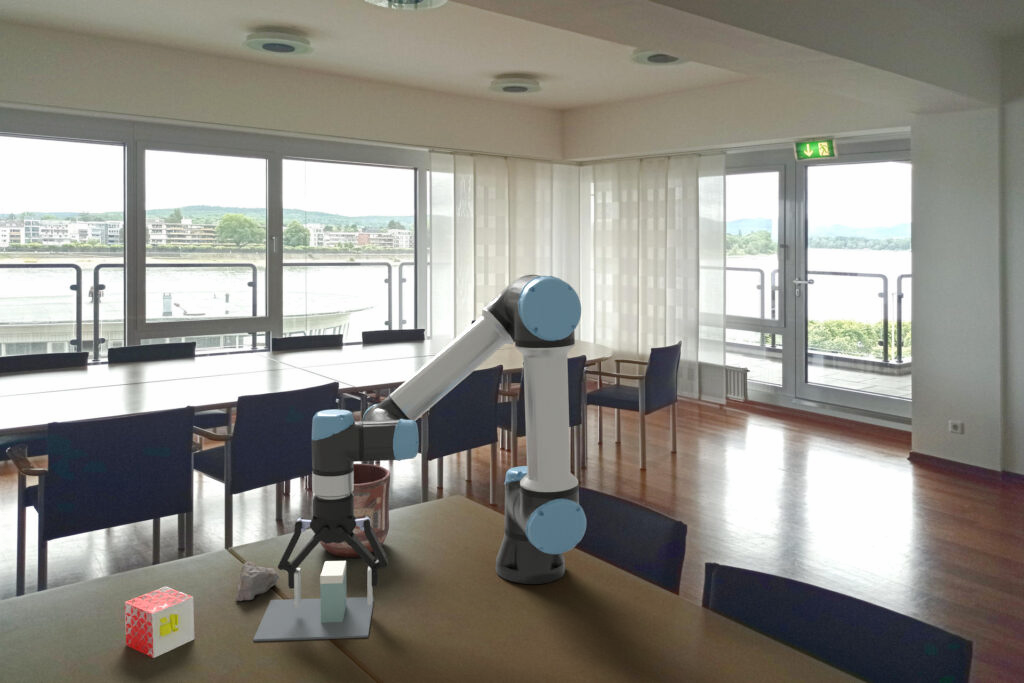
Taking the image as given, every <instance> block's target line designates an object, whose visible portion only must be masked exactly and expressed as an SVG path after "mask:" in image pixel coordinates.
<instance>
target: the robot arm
mask: <svg viewBox="0 0 1024 683" xmlns="http://www.w3.org/2000/svg"><path fill="white" fill-rule="evenodd" d="M481 312H482V313H481V316H480V317H479V318H478V319H477V320H475V321H474V322H473V323H472V324H471V325H469V326H468V327H467V328H466V329H464V331H463V332H461V333H460V334H459V335H458V336H457V337H456V338H454V339H453V340H452V341H451V342H450V343H449V344H448V345H446V346H445V347H444V348H443V349H441V350H440V351H439V352H438V353H437V354H435V356H433V357H432V358H431V359H430V360H429V361H428V362H426V363H425V364H424V365H423V366H422V367H420V369H418V370H417V371H416V372H414V374H412V375H411V376H409V378H407V379H406V380H405V381H404V382H403V383H401V385H399V386H398V387H397V388H396V389H395V390H394V391H392V392H391V393H390V394H389V395H388V396H387V397H386V398H384V399H383V400H382V401H380V403H375V404H373V405H371V406H369V407H368V408H367V409H366V410H365V412H364V414H363V417H362V420H359V421H358V420H355V418H354V414H353V412H352V411H350V410H347V409H339V408H337V409H324V410H320V411H317V412H315V414H314V416H313V417H312V419H311V420H312V422H311V425H312V426H311V461H312V462H311V463H312V465H311V466H312V467H311V469H312V471H311V473H312V474H311V475H312V476H311V477H312V478H311V481H312V482H311V485H312V486H311V487H312V488H311V489H312V493H313V496H312V517H311V518H312V519H304V518H303V517H301V516H300V517H298V518H297V519H296V521H295V524H294V530H293V533H292V534H293V535H292V537H291V539H290V540H289V543H288V544H287V546H286V548H285V551H284V553H283V554H282V556H281V559H280V561H279V563H278V565H277V568H278V570H280V571H286V573H287V574H288V576H287V577H288V585H287V586H288V588H289V589H294V592H293V594H294V596H293V597H294V598H293V599H294V606H295V607H299V605H300V602H301V599H302V595H301V594H302V592H301V591H302V588H301V587H302V584H301V583H302V580H301V575H302V573H301V569H302V568H301V567H299V566H300V565H301V564H302V563H303V562H304V560H305V559H306V558H308V556H309V555H310V553H311V552H312V551H313V550H314V549H315V547H317V546H318V544H319V543H320V541H322V542H324V543H325V544H329V543H332V542H334V543H342V542H344V541H346V543H347V544H348V545H349V546H351V547H352V548H353V549H354V550H355V551H356V553H357V554H358V555H359V556H360V557H359V558H361V559H362V560H363V562H364V563H365V564H366V565H367V573H366V574H367V578H366V579H367V582H366V583H367V584H366V585H367V586H366V587H367V588H366V589H367V591H366V592H367V593H366V594H367V595H366V597H367V605H372V597H373V587H377V586H378V584H379V570H380V569H382V568H386V567H387V566H388V562H389V559H388V556H387V554H386V552H385V550H384V548H383V546H382V545H381V544H380V542H379V540H378V538H377V536H376V534H375V532H374V530H373V528H372V525H371V518H370V516H366V517H365V518H362V519H356V518H355V517H354V495H353V494H352V491H353V490H354V466H353V464H355V462H360V463H361V462H383V461H384V462H385V461H398V462H401V461H405V460H412V459H415V458H416V457H417V456H418V453H419V445H420V442H419V441H420V440H419V439H420V438H419V428H418V424H417V422H416V421H417V420H418V419H419V418H421V416H422V415H424V414H425V413H426V412H428V410H430V409H431V408H432V407H434V405H436V404H437V403H438V402H439V401H440V400H441V399H443V398H444V397H445V396H447V394H448V393H450V392H451V391H452V390H453V389H454V388H455V387H456V386H458V385H459V384H460V383H461V382H462V381H464V380H465V379H467V377H468V376H470V375H471V374H472V373H473V372H474V371H475V370H477V368H479V367H480V366H481V365H483V363H484V362H486V361H487V360H488V359H489V358H490V357H491V356H493V355H494V354H495V353H496V352H498V350H500V349H501V348H502V347H503V346H505V345H506V344H507V345H513V344H514V346H515V347H514V348H516V349H517V350H518V351H519V352H520V353H521V354H522V356H523V361H522V362H523V384H524V385H523V386H524V413H525V419H524V420H525V443H526V444H525V445H526V446H525V447H526V465H524V466H523V465H522V466H515V467H511V468H509V469H508V470H507V471H506V473H505V478H504V479H505V480H504V531H503V532H504V535H503V538H502V541H501V544H500V546H499V550H498V553H497V556H496V559H495V572H496V574H497V576H500V578H502V579H503V580H504V579H505V580H507V581H509V582H513V583H517V584H524V585H525V584H526V585H543V584H548V583H552V582H555V581H557V580H559V579H562V578H563V577H564V575H565V572H566V560H565V557H564V553H567V552H568V551H571V550H572V549H574V548H576V546H577V545H578V544H579V543H580V542H581V541H582V539H583V537H584V536H585V533H586V530H587V516H586V514H585V511H584V509H583V507H582V506H581V505H580V496H579V493H580V492H579V491H580V490H579V479H578V478H577V477H576V476H575V475H574V474H573V473H572V472H571V448H570V443H571V442H570V439H571V438H570V413H569V412H570V409H569V408H570V406H569V405H570V404H569V403H570V402H569V401H570V400H569V372H568V354H569V352H570V351H571V350H572V349H573V348H574V347H575V346H576V342H575V341H576V339H575V330H576V328H577V327H578V325H579V323H580V321H581V318H582V316H581V315H582V304H581V300H580V297H579V295H578V293H577V291H576V290H575V288H573V287H572V286H571V285H570V284H569V283H568V282H566V281H564V280H562V279H561V278H559V277H556V276H553V275H537V274H527V275H524V276H523V275H522V276H521V277H518V278H517V279H515V280H514V281H512V282H511V283H510V284H508V285H507V286H506V287H505V288H504V289H503V290H502V291H501V292H500V293H498V294H497V295H496V296H495V297H494V298H493V299H492V300H491V301H490V302H489V303H488V304H487V305H485V307H483V308H482V311H481ZM356 526H359V527H360V529H361V530H363V531H364V532H365V535H366V537H367V539H368V541H369V543H370V545H371V547H372V549H373V551H374V552H373V553H374V555H375V556H376V557H375V556H374V555H373V553H370V552H369V550H368V549H367V548H366V547H365V546H364V545H363V544H362V543H361V541H360V540H359V539H358V538H357V537H356V535H355V534H354V532H353V530H354V528H355V527H356ZM307 528H310V529H311V530H312V532H313V533H314V534H313V536H312V537H311V538H310V540H309V541H308V542H307V543H306V544H305V545H304V546H303V548H302V549H301V550H300V552H299V553H298V554H297V555H296V556H295V557H294V558H293V560H291V561H289V559H290V558H291V555H292V553H293V551H294V549H295V547H296V546H297V543H298V541H299V539H300V537H301V535H302V533H303V532H306V530H307Z"/></svg>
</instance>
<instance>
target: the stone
mask: <svg viewBox="0 0 1024 683" xmlns="http://www.w3.org/2000/svg"><path fill="white" fill-rule="evenodd" d="M240 572H241V573H240V576H239V579H238V585H237V586H238V587H237V595H236V596H235V599H236V600H237V601H238V602H242V601H251V600H253V599H254V598H255V596H257V595H262V594H265V593H267V592H268V591H269V590H270V588H272V587H274V586H275V585H277V582H278V580H279V578H280V576H279V575H278V572H277V571H276V570H275V568H273V567H264V566H258V565H257V564H255V563H254V562H253V561H245V563H243V564H242V567H241V571H240Z"/></svg>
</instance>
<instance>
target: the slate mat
mask: <svg viewBox="0 0 1024 683" xmlns="http://www.w3.org/2000/svg"><path fill="white" fill-rule="evenodd" d="M374 601H375V596H372V605H367V596H366V597H365V596H362V597H361V596H360V597H355V596H354V597H346V610H345V614H344V618H343V622H328V623H321V603H320V598H301V602H300V605H299V607H295V606H294V598H292V599H290V598H288V599H270V601H269V604H268V606H267V608H266V610H265V612H264V614H263V617H262V618H261V621H260V623H259V625H258V627H257V630H256V632H255V634H254V637H253V639H252V641H253V642H271V641H272V642H273V641H274V642H275V641H276V642H278V641H279V642H280V641H303V640H304V641H307V640H308V641H309V640H331V639H333V640H334V639H358V638H359V639H362V638H363V639H364V638H369V633H370V627H371V621H372V615H373V614H372V613H373V607H374Z"/></svg>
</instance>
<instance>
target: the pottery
mask: <svg viewBox="0 0 1024 683" xmlns="http://www.w3.org/2000/svg"><path fill="white" fill-rule="evenodd" d="M353 466H354V490H353V491H352V494H353V495H354V517H355V518H356V519H362V518H365V517H366V516H370V518H371V525H372V528H373V530H374V532H375V534H376V536H377V538H378V540H379V542H380V544H381V546H382V545H384V542H385V540H386V538H387V536H388V533H389V529H390V510H389V509H390V508H389V507H390V506H389V504H390V486H391V485H390V484H391V472H390V470H388V469H387V468H385V467H384V466H381V465H376V464H369V463H354V464H353ZM353 532H354V534H355V535H356V537H357V538H358V539H359V540H360V541H361V543H362V544H363V545H364V546H365V547H366V548H367V549H368V550H369V552H370V553H371V554H373V553H374V551H373V549H372V547H371V545H370V543H369V541H368V539H367V537H366V535H365V532H364V531H363V530H361V529H360V527H359V526H356V527H355V528H354V530H353ZM319 543H320V544H321V546H322V548H324V549H325V550H326V551H327V552H328V553H330V554H331V555H333V556H335V557H341V558H358V557H359V558H361V557H360V556H359V555H358V554H357V553H356V551H355V550H354V549H353V548H352V547H351V546H349V545H348V544H347V543H346V541H344V542H342V543H334V542H332V543H329V544H325V543H324V542H322V541H320V542H319Z"/></svg>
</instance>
